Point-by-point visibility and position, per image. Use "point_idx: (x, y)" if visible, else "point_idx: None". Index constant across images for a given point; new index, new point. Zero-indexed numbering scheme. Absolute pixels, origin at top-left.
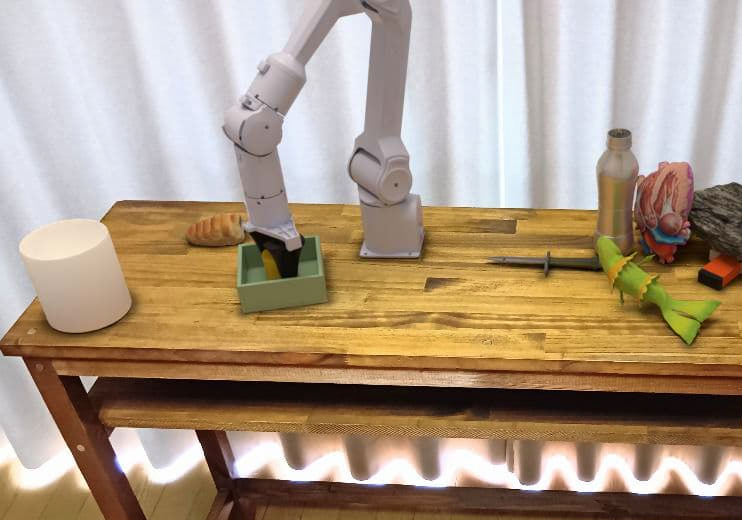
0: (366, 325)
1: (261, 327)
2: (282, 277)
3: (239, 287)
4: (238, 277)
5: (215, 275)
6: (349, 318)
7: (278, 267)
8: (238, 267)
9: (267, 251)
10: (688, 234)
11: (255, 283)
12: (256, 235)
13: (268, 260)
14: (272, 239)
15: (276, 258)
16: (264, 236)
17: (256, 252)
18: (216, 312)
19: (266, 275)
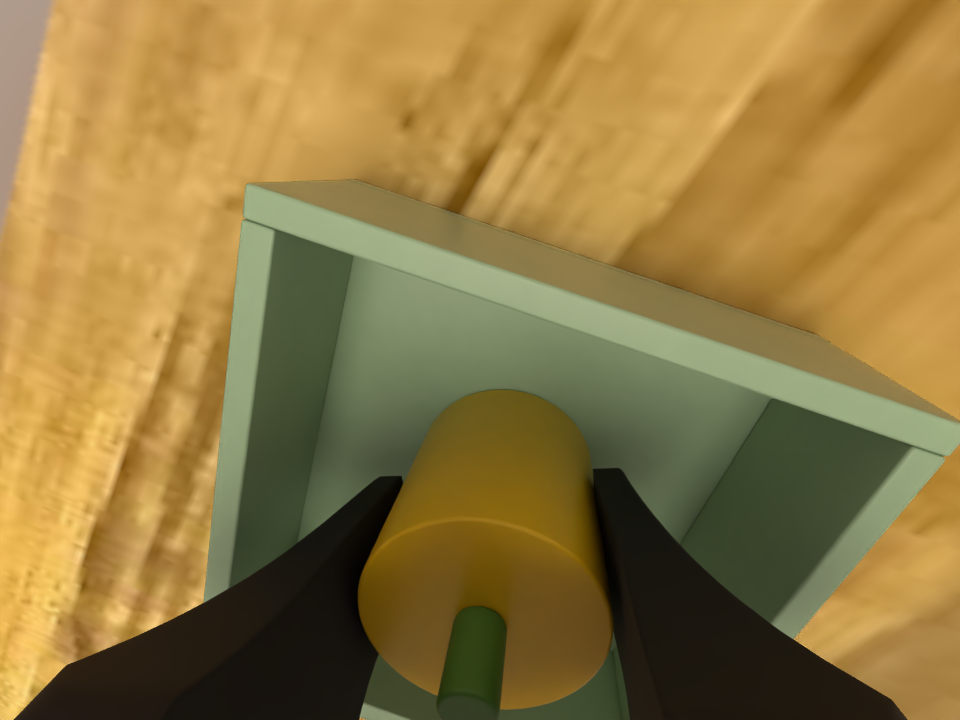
0: (96, 568)
1: (192, 226)
2: (357, 495)
3: (247, 203)
4: (389, 244)
5: (920, 143)
6: (153, 546)
7: (306, 543)
8: (554, 298)
9: (549, 579)
10: None
11: (246, 334)
12: (647, 698)
13: (403, 534)
14: (632, 698)
15: (161, 627)
16: (640, 712)
17: (804, 483)
18: (445, 16)
19: (497, 426)
